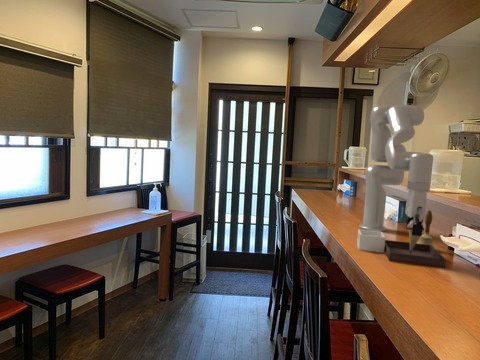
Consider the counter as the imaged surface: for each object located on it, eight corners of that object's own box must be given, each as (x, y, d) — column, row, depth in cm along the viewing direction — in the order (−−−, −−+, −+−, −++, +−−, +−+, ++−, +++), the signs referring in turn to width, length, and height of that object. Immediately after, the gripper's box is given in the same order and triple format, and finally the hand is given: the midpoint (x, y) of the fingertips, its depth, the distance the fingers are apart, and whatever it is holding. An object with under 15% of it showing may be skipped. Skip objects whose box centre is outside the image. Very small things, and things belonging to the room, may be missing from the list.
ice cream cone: (409, 259, 127) (416, 222, 122) (398, 251, 132) (405, 215, 127) (421, 257, 128) (429, 220, 123) (410, 249, 134) (418, 214, 129)
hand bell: (440, 250, 139) (445, 211, 137) (428, 253, 135) (433, 213, 133) (421, 245, 146) (425, 207, 144) (409, 247, 142) (413, 209, 140)
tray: (381, 246, 140) (382, 239, 140) (430, 252, 136) (431, 245, 135) (389, 260, 123) (389, 252, 123) (445, 267, 118) (446, 259, 118)
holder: (356, 243, 143) (358, 229, 142) (380, 246, 141) (382, 231, 140) (358, 249, 134) (360, 234, 134) (383, 252, 132) (385, 237, 131)
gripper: (402, 183, 136) (398, 226, 138) (412, 188, 119) (407, 237, 121) (423, 185, 134) (418, 228, 136) (436, 190, 117) (431, 239, 119)
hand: (413, 232), depth 128 cm, fingers open, 9 cm apart
